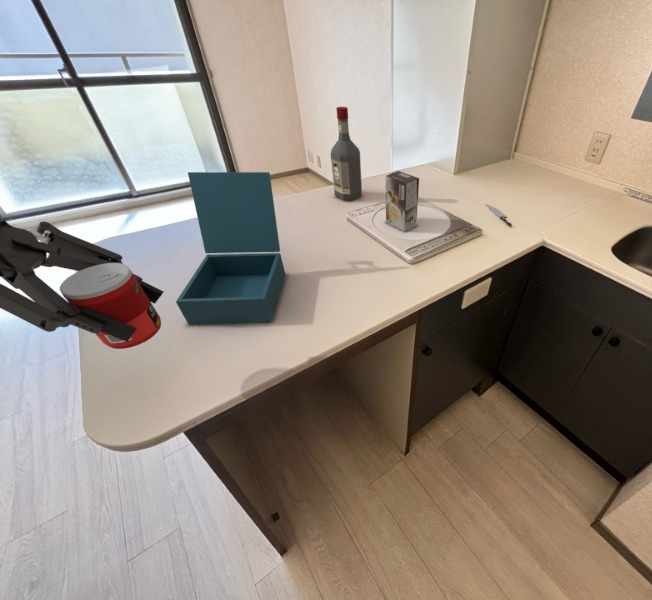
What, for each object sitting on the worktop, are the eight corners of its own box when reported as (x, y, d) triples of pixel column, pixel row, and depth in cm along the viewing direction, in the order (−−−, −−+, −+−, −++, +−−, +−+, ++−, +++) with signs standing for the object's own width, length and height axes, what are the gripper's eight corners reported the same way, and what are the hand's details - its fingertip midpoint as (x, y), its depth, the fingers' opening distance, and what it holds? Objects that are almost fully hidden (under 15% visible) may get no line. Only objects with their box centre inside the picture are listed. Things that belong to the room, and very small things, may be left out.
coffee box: (417, 225, 109) (420, 178, 99) (404, 232, 106) (407, 183, 95) (397, 216, 114) (398, 170, 103) (384, 222, 110) (384, 175, 100)
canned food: (172, 326, 54) (140, 273, 46) (120, 358, 48) (74, 303, 41) (147, 309, 57) (113, 256, 49) (95, 337, 51) (48, 282, 44)
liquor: (350, 189, 131) (344, 103, 111) (365, 196, 126) (361, 108, 106) (331, 195, 126) (322, 107, 106) (347, 203, 121) (339, 112, 101)
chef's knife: (491, 203, 125) (484, 204, 124) (492, 201, 124) (485, 201, 123) (516, 227, 111) (509, 227, 110) (517, 224, 110) (510, 224, 109)
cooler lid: (268, 172, 75) (274, 172, 79) (187, 172, 73) (197, 172, 77) (279, 251, 81) (283, 248, 86) (205, 253, 80) (213, 249, 84)
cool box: (271, 322, 73) (264, 298, 69) (188, 325, 72) (175, 301, 67) (285, 275, 86) (280, 253, 82) (216, 276, 85) (206, 254, 80)
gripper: (2, 205, 48) (166, 287, 60) (-170, 295, 32) (97, 382, 44) (15, 169, 45) (184, 263, 57) (-169, 248, 29) (118, 355, 41)
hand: (146, 315), depth 50 cm, fingers closed on canned food, 8 cm apart
